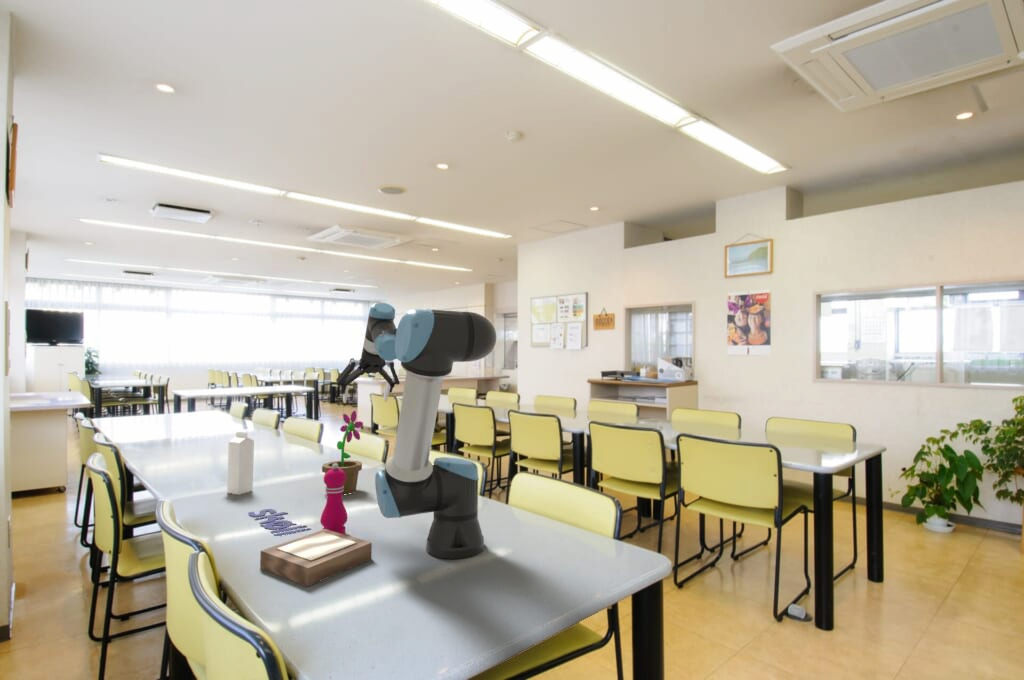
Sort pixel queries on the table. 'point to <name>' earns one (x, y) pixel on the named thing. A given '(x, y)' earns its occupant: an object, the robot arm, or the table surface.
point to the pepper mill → (334, 501)
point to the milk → (240, 464)
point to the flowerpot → (347, 455)
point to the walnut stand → (315, 556)
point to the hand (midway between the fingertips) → (365, 399)
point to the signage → (276, 522)
